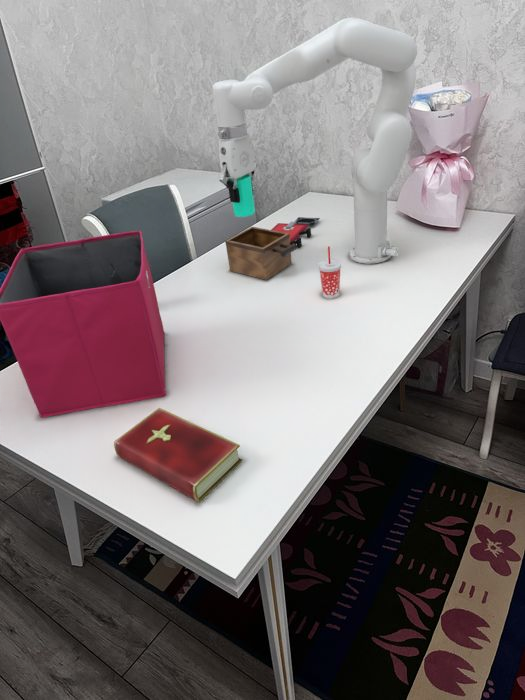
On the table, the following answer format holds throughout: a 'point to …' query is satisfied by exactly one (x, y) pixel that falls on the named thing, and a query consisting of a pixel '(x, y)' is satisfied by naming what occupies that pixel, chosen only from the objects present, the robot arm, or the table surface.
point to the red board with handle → (296, 229)
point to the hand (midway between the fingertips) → (242, 197)
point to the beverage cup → (330, 277)
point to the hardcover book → (179, 453)
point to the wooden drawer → (259, 252)
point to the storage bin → (85, 323)
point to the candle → (244, 197)
